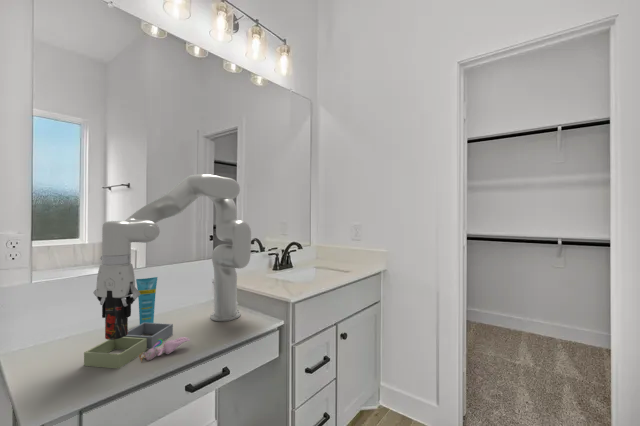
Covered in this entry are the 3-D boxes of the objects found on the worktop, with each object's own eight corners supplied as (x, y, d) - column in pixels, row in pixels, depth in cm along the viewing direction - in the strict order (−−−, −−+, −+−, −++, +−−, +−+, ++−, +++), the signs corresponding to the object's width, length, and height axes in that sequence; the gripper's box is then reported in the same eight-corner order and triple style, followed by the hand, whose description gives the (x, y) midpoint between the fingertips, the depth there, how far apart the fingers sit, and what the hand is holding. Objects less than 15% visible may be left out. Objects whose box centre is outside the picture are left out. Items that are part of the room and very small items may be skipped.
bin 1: (114, 348, 103) (114, 336, 103) (146, 350, 102) (146, 338, 102) (83, 365, 91) (83, 352, 91) (119, 368, 90) (119, 355, 90)
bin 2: (144, 332, 116) (144, 322, 116) (172, 334, 114) (172, 324, 114) (120, 346, 104) (120, 335, 104) (151, 349, 103) (151, 337, 103)
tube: (136, 328, 119) (136, 280, 119) (135, 324, 123) (135, 277, 123) (157, 325, 123) (157, 277, 123) (156, 321, 127) (156, 275, 127)
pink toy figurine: (143, 369, 92) (193, 347, 102) (139, 351, 92) (190, 330, 101) (139, 361, 97) (187, 340, 107) (135, 344, 96) (184, 324, 106)
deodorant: (131, 334, 97) (131, 287, 97) (110, 341, 92) (110, 291, 92) (122, 330, 100) (122, 285, 100) (101, 336, 95) (101, 289, 95)
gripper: (81, 261, 93) (81, 319, 94) (133, 263, 91) (132, 323, 91) (102, 257, 101) (101, 311, 101) (150, 259, 99) (149, 314, 99)
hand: (116, 316), depth 96 cm, fingers closed on deodorant, 5 cm apart
